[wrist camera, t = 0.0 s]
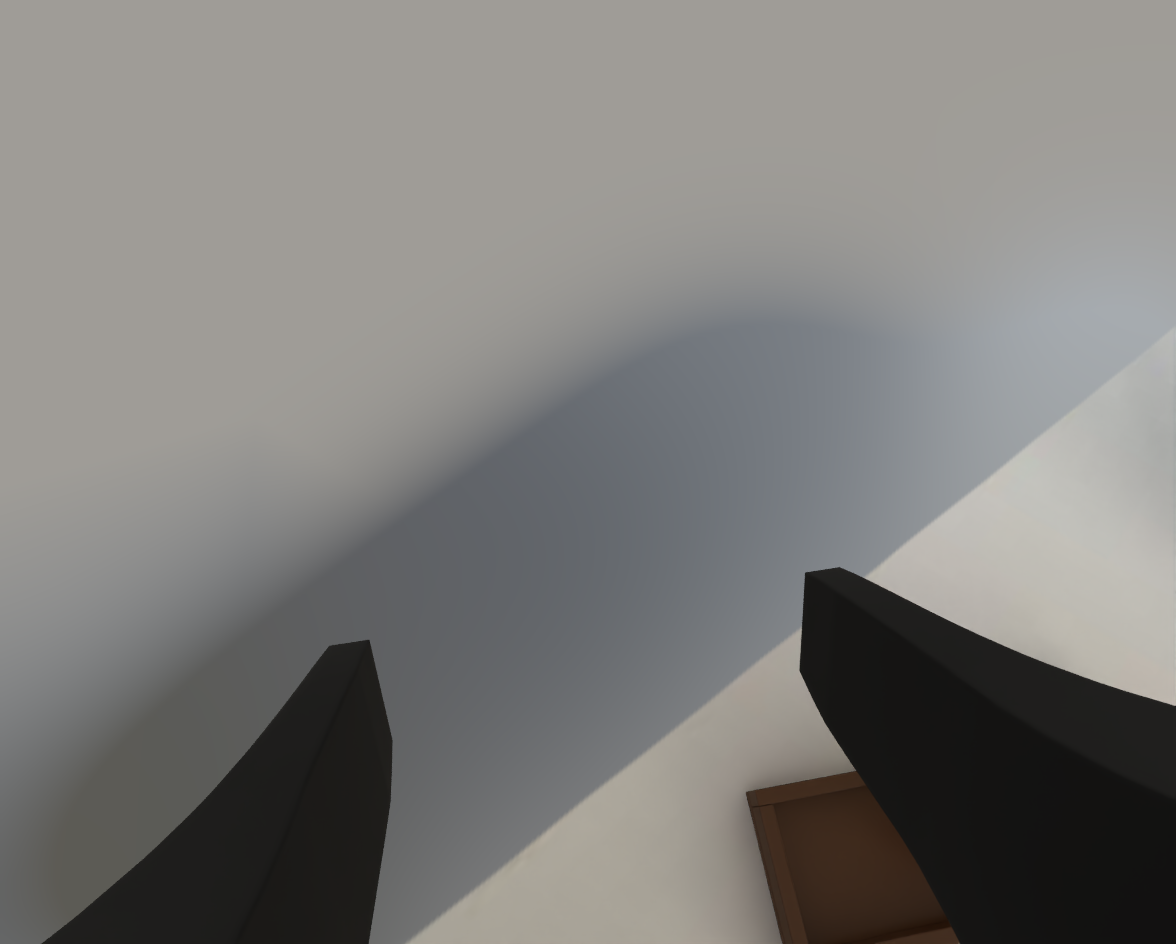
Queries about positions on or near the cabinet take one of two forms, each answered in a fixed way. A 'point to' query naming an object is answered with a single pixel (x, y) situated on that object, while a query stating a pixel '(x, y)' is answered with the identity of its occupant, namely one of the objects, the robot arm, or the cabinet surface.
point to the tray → (841, 867)
